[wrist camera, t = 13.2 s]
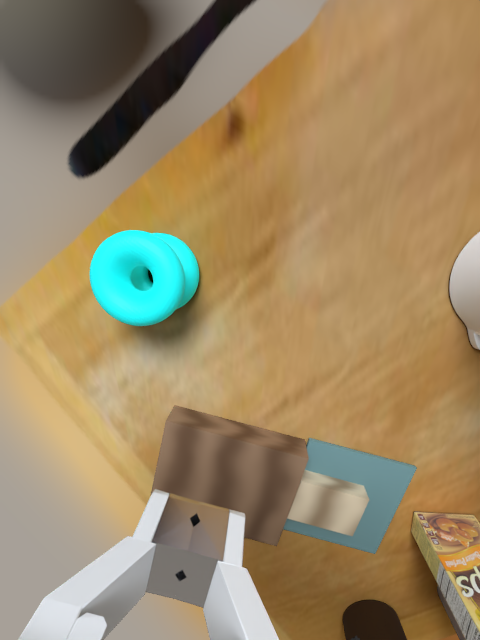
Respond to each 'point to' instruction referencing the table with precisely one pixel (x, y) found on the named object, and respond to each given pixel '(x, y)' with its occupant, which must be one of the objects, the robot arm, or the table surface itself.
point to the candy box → (453, 563)
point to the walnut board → (232, 468)
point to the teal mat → (379, 482)
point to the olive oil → (372, 622)
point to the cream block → (329, 503)
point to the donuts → (143, 276)
